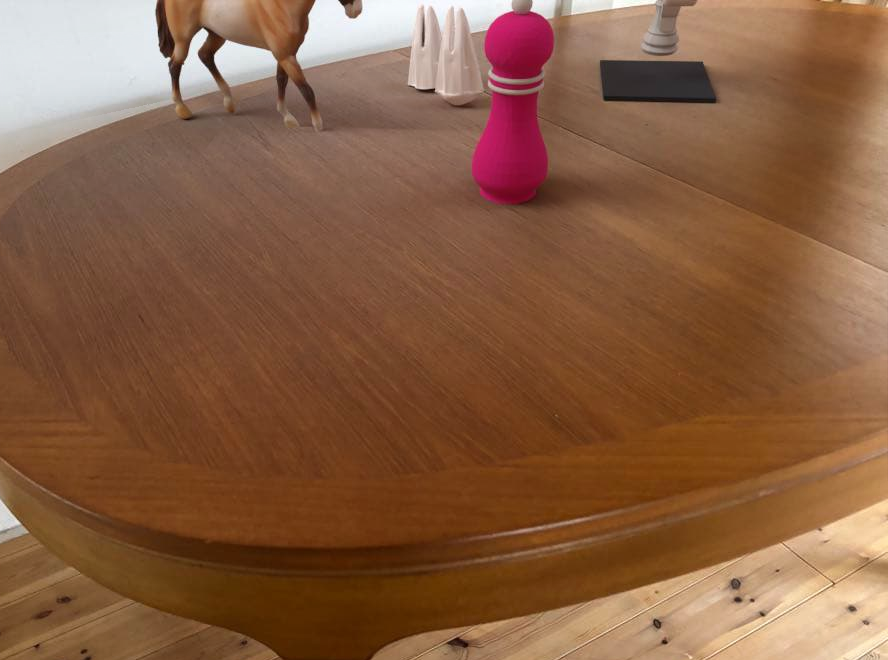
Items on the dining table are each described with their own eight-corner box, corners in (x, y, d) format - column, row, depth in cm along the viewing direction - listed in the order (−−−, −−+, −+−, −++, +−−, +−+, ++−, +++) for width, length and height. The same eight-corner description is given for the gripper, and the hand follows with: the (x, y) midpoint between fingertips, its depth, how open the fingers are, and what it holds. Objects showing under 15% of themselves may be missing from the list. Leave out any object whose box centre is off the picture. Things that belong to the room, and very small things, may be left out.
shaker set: (485, 106, 108) (490, 11, 101) (456, 114, 107) (459, 17, 100) (432, 78, 116) (434, -12, 109) (405, 85, 115) (405, -6, 108)
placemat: (701, 65, 116) (702, 61, 115) (715, 103, 106) (716, 98, 105) (599, 64, 118) (600, 59, 117) (603, 100, 108) (604, 95, 108)
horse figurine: (377, 136, 103) (372, -60, 90) (339, 161, 98) (328, -42, 85) (177, 92, 117) (148, -83, 104) (136, 112, 112) (100, -69, 99)
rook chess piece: (661, 59, 107) (674, -12, 102) (632, 50, 110) (643, -19, 105) (685, 51, 109) (699, -19, 104) (655, 42, 112) (667, -26, 107)
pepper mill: (454, 208, 88) (461, -6, 75) (503, 185, 91) (519, -24, 79) (508, 233, 84) (526, 10, 71) (558, 208, 87) (584, -9, 74)
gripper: (730, -86, 90) (702, 53, 99) (704, -122, 106) (682, 1, 114) (666, -85, 91) (643, 52, 100) (650, -121, 107) (631, 0, 115)
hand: (664, 24), depth 107 cm, fingers closed on rook chess piece, 3 cm apart
